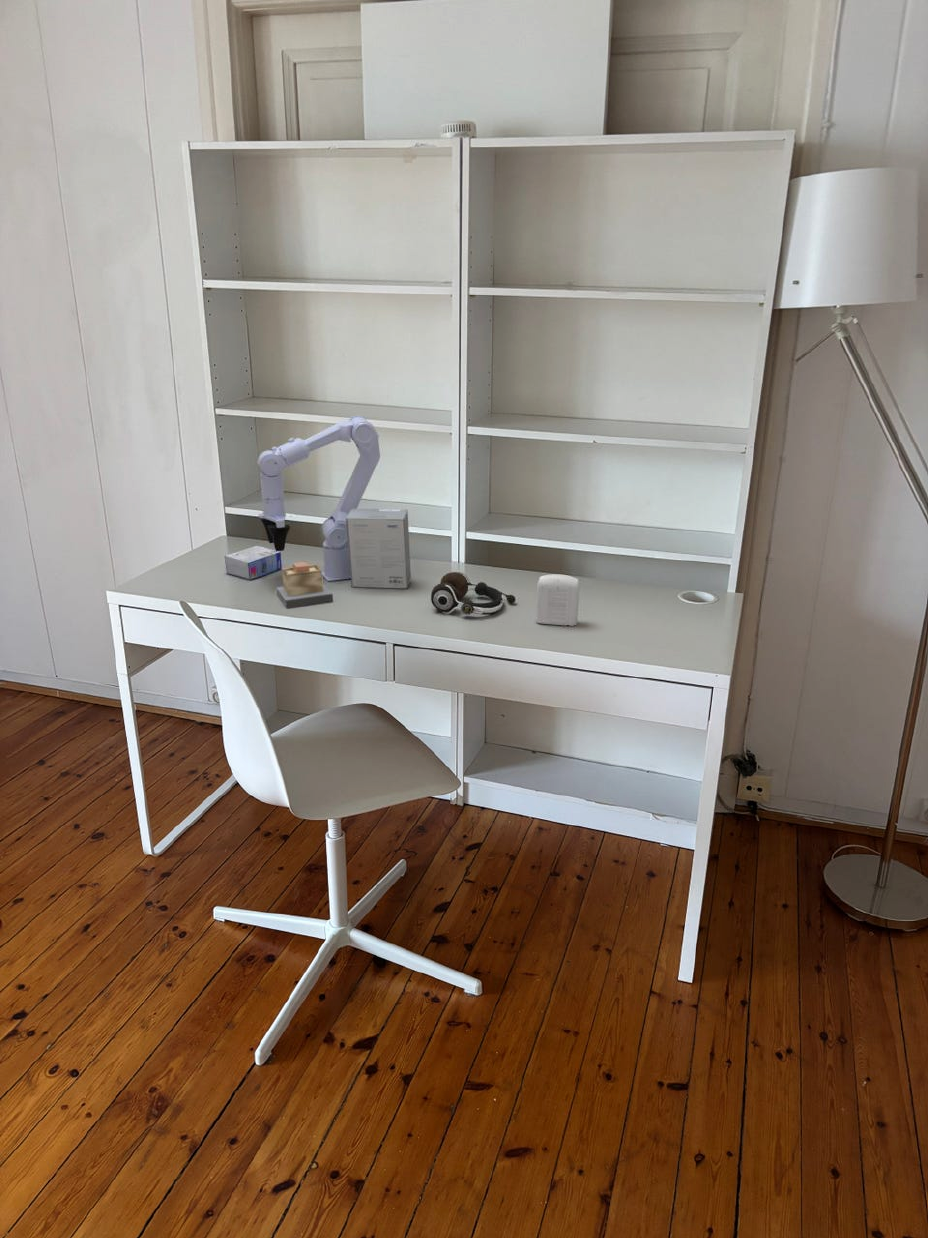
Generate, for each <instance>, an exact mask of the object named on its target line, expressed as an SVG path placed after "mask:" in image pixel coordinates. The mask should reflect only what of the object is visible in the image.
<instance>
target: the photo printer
mask: <svg viewBox="0 0 928 1238" xmlns="http://www.w3.org/2000/svg"><path fill="white" fill-rule="evenodd" d="M536 585H537V586H536V601H535V602H536V603H535V618H534V619H535V622H536V623H537V624H544V625H555V626H556V625H559V626H567V625H569V626H568V627H570V626H571V627H574V625H575V626H577V625H578V619H579V618H578V615H579V602H580V590H581V589H580V583H579V579H578V578H576V577H574V576H570V575H567V574H566V575H565V574H559V573H557V574H555V573H554V574H553V573H552V574H545V575H541V576H540V577H539V578H538V581H537V584H536Z"/></svg>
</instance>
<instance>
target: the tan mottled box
mask: <svg viewBox="0 0 928 1238" xmlns="http://www.w3.org/2000/svg"><path fill="white" fill-rule="evenodd" d="M308 565H309V571H306V572H299V573H295V572H294V571H293V566H292V567H285V568H284V567H283V568H282V569H281V572H282V585H283V586H282V587H283V588H284V591H285V592H286V594H287V595H288V596H294V595H301V594H308V593H315V592H322V591H323V586H322V583H323V575H322V571H323V570H322V569H321V568H320V567H319V566H318V564H317V563H316V564H308Z"/></svg>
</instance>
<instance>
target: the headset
mask: <svg viewBox="0 0 928 1238" xmlns="http://www.w3.org/2000/svg"><path fill="white" fill-rule="evenodd" d="M469 586H471V587H469ZM472 586H474V588H472ZM469 591H474V592H475V594H476V595H478V596H485V597H488V598H489V599H491V600H492V601H489V602H473V601H472V600H469V599H468V600H465V601H464V602H461V601H460V600H462V599H463V598H464V597H466V595H467V593H469ZM430 594H431V595H430V602H431V604H432V605H433V606H432V607H434V608H435V609H436V610H438V611H440V613H442V614H445V615H448V614H451V613H452V612H454V611H455V610H456V609H457V610H460V611H461V612H462V614H464V615H468V616H469V615H472V614H477V615H484V616H485V615H489V616H490V615H494V614H496V613H498V612H499V611H500V609H501V608H502V607H503V604H504V600H505V599H504V597H505V598H506V601H507V602H508V603H510V604H513V603H515V602H516V596H514V595H513V594H505V592H504V593H503V592H502V591H500V590H498V589H497V588H494V587H492V586H488V584H486V583H485V582H483V581H480V582H478V583H475V582H471V580H470V578H469V577H468V575H467V574H466V573H464V572H463V571H459V570H458V571H453V572H448V573H446V574H444V575H443V576H442V577H441V580H440V583H438V584H436V585H435V586H433V589H432V590H431V593H430ZM459 605H461V607H459Z"/></svg>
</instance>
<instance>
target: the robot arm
mask: <svg viewBox="0 0 928 1238" xmlns="http://www.w3.org/2000/svg"><path fill="white" fill-rule="evenodd" d="M379 437H380V435H379V434H378V432H377V430H376V428H375V426H374V425H373V424H372V423H371V422H369V421H368V420H367V419H366V418H365V417H363V416H362V415H354V416H352V417H350V418H346V419H343V420H340V421H338V422H337V423H336V424H333V425H332V426H329V427H328V428H326V429H323V430H322V431H319V433H316V434H314V435H312V436H310V437H309V438H307V439H302V438H299V437H297V438H294V437H291V438H289V439H288V441H287V442H285V443H284V444H282V445H280V446H277V447H276V446H273V447H271V449H272V450H269V449H268V450H264V451H263V452H261V453H260V455H259V456H258V460H257V465H258V467H259V469H260V473H259V477H260V492H261V493H260V495H261V504H262V513H259V514H258V517H259V519H260V522H261V523H262V525H263V528H264V529H265V533H266V537H267V540H268V543H269V544H273V547H274V550H275V551H279V552H284V551H285V548H286V540H287V536H288V534H289V532H290V529H291V526H290V525H289V524H285V519H286V516H287V515H286V514H287V513H286V509H285V495H284V481H283V479H282V478H283V477H282V471H283V470H284V469H287V468H289V467H291V466H294V465H295V464H298V463H300V462H302V461H304V460H307V459H308V458H309V455H310V453H311V452H313V451H316V450H317V449H320V448H323V447H325V446H328V445H330V444H331V443H335V442H337V441H339V442H340V441H342V442H346V443H351V442H352V441H353V443H354V444H355V446H356V449H357V451H358V453H359V458H358V459H357V462H356V463H355V466H354V468H353V470H352V472H351V475H350V477H349V479H348V481H347V483H346V486H345V488H344V490H343V493H342V495H341V497H340V499H339V502H338V503H337V505H336V507H335V508H334V509H333V510H332V512H331V514H330V515H329V516H328V517H327V518H326V519H325V520H324V521H323V523H322V524H321V533H322V534H323V536H324V538H325V539H324V541H323V543H322V550H323V569H324V570H322V577H324V578H325V580H326V581H327V582H333V581H339V580H340V581H341V580H347V579H348V580H349V579H351V572H350V560H349V547H348V535H347V523H346V518H347V516H348V514H349V512H350V511H351V509H358V506H359V504H360V502H361V500H362V498H363V496H364V494H365V492H366V489H367V487H368V485H369V483H370V481H371V478H372V476H373V474H374V472H375V470H376V468H377V466H378V465H379V461H380V459H381V452H380V443H379Z"/></svg>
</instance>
